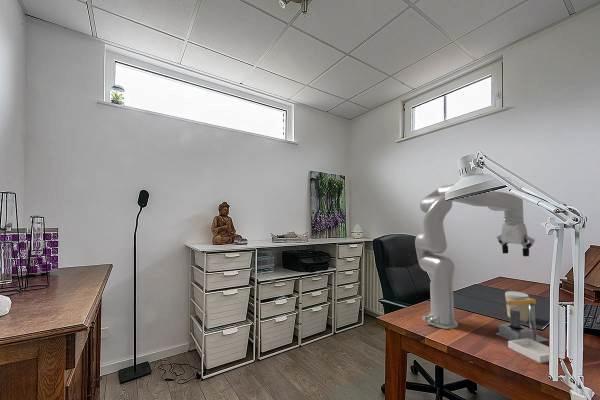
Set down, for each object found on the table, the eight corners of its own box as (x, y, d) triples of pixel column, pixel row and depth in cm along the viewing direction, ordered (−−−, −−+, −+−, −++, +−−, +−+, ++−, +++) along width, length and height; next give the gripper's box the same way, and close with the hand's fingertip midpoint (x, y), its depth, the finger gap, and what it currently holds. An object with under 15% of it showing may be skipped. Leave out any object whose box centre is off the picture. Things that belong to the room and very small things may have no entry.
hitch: (519, 346, 103) (517, 310, 104) (494, 334, 113) (493, 302, 113) (550, 341, 107) (548, 306, 107) (524, 330, 116) (522, 299, 117)
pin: (517, 339, 107) (515, 309, 108) (509, 336, 110) (507, 306, 111) (523, 338, 108) (521, 308, 108) (515, 335, 111) (513, 306, 112)
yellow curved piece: (511, 306, 107) (511, 302, 107) (504, 304, 110) (504, 300, 110) (537, 303, 111) (537, 300, 111) (530, 301, 114) (530, 297, 114)
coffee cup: (518, 314, 134) (517, 290, 135) (535, 322, 125) (534, 296, 126) (501, 315, 134) (500, 291, 135) (516, 322, 125) (515, 297, 125)
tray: (540, 364, 90) (540, 356, 91) (508, 348, 101) (508, 341, 101) (562, 360, 93) (561, 352, 93) (528, 345, 103) (528, 338, 104)
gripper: (491, 220, 142) (492, 252, 141) (527, 221, 125) (529, 257, 124) (502, 220, 144) (503, 252, 143) (538, 221, 127) (540, 257, 126)
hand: (515, 254), depth 134 cm, fingers open, 9 cm apart
